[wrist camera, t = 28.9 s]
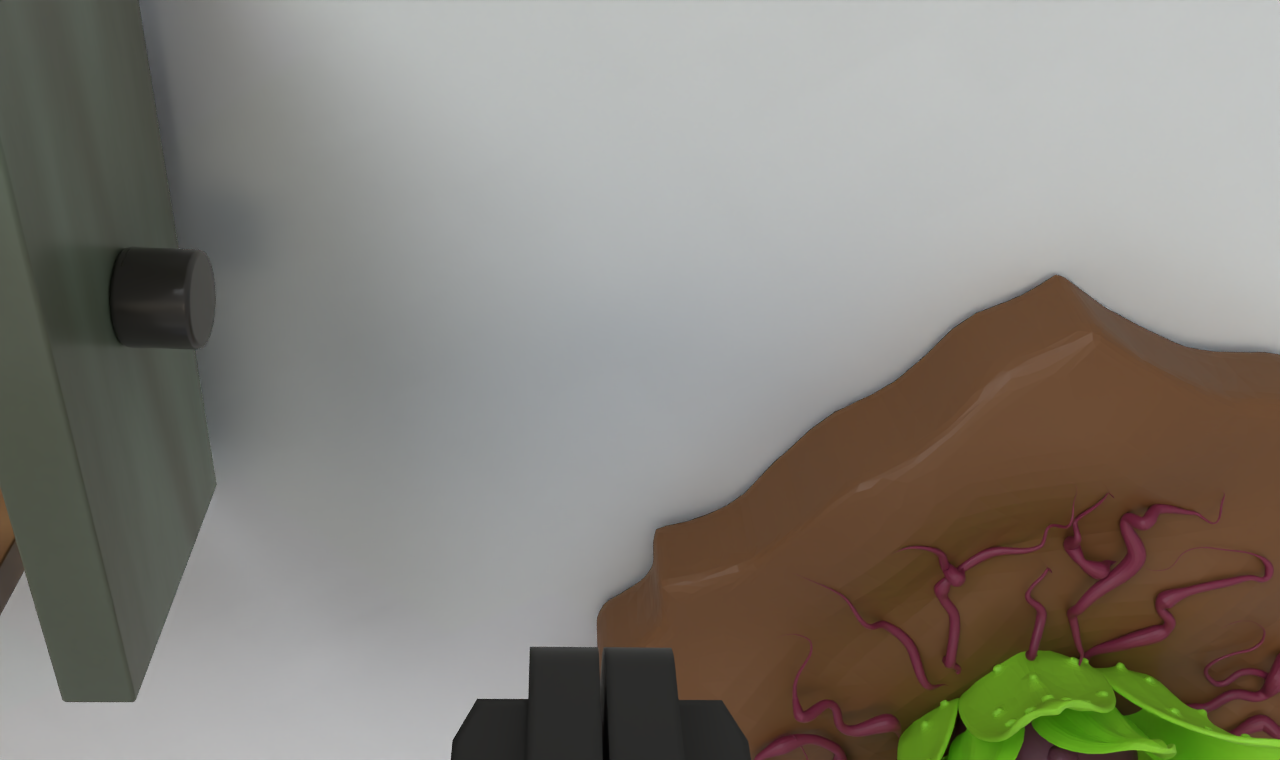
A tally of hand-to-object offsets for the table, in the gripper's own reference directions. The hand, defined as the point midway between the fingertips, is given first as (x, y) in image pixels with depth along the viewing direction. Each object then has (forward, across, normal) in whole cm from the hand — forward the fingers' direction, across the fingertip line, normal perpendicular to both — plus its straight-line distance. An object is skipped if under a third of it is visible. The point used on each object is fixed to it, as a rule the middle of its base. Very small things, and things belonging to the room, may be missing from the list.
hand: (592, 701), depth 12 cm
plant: (+12, -11, +12) cm, 21 cm away
